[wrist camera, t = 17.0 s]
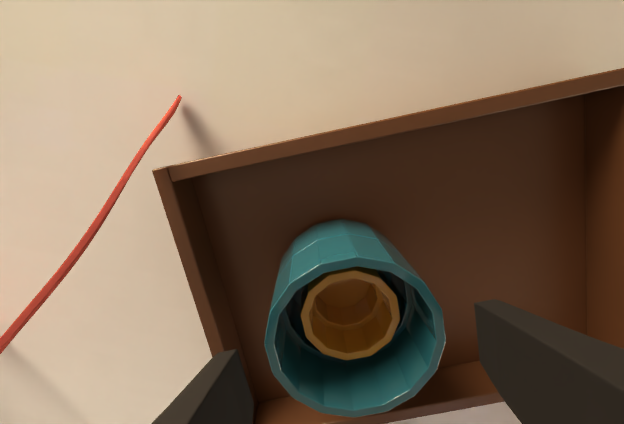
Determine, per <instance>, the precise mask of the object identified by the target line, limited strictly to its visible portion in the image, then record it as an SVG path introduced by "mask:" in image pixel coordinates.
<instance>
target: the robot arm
mask: <svg viewBox="0 0 624 424" xmlns="http://www.w3.org/2000/svg"><path fill="white" fill-rule="evenodd" d="M474 309H475V319H476V329H477V339H478V349H479V359H480V363H481V365H482V366H483V368H484V370H485V371H486V373H487V375H488V376H489V378H490V380H491V381H492V383H493V385H494V386H495V388H496V389H497V391H498V392H499V394H500V396H501V397H502V398H503V400H504V401H505V402H506V404H507V405H508V406H509V407H510V409H511V410H512V411H513V413H514V414H515V415H516V417H517V418H518V419H519V420H520V422H521V423H522V424H624V349H623V348H620V347H617V346H614V345H612V344H609V343H606V342H603V341H601V340H598V339H595V338H593V337H590V336H587V335H585V334H582V333H580V332H577V331H574V330H572V329H569V328H567V327H564V326H562V325H559V324H557V323H554V322H552V321H550V320H547V319H545V318H542V317H540V316H537V315H535V314H532V313H530V312H528V311H525V310H523V309H520V308H518V307H515V306H513V305H510V304H508V303H505V302H502V301H499V300H496V299H492V300H487V301H481V302H476V303H474ZM253 411H254V403H253V399H252V396H251V393H250V389H249V386H248V383H247V379H246V376H245V373H244V369H243V366H242V363H241V359H240V356H239V353H238V349H234V350H229V351H224V352H219V353H217V354H216V355H215V356H214V357H213V358H212V359H211V360H210V361H209V362H208V363H207V364H206V365H205V367H204V368H203V369H202V370H201V371H200V372H199V373H198V374H197V375H196V377H195V378H194V379H193V380H192V381H191V382H190V383H189V384H188V385H187V386H186V388H185V389H184V390H183V391H182V392H181V393H180V394H179V395H178V396H177V397H176V398H175V400H174V401H173V402H172V403H171V404H170V405H169V406H168V407H167V408H166V409H165V410H164V411H163V412H162V413H161V414H160V415H159V416H158V417H157V418H156V420H155V421H154V422H153V423H152V424H252V422H253Z"/></svg>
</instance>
